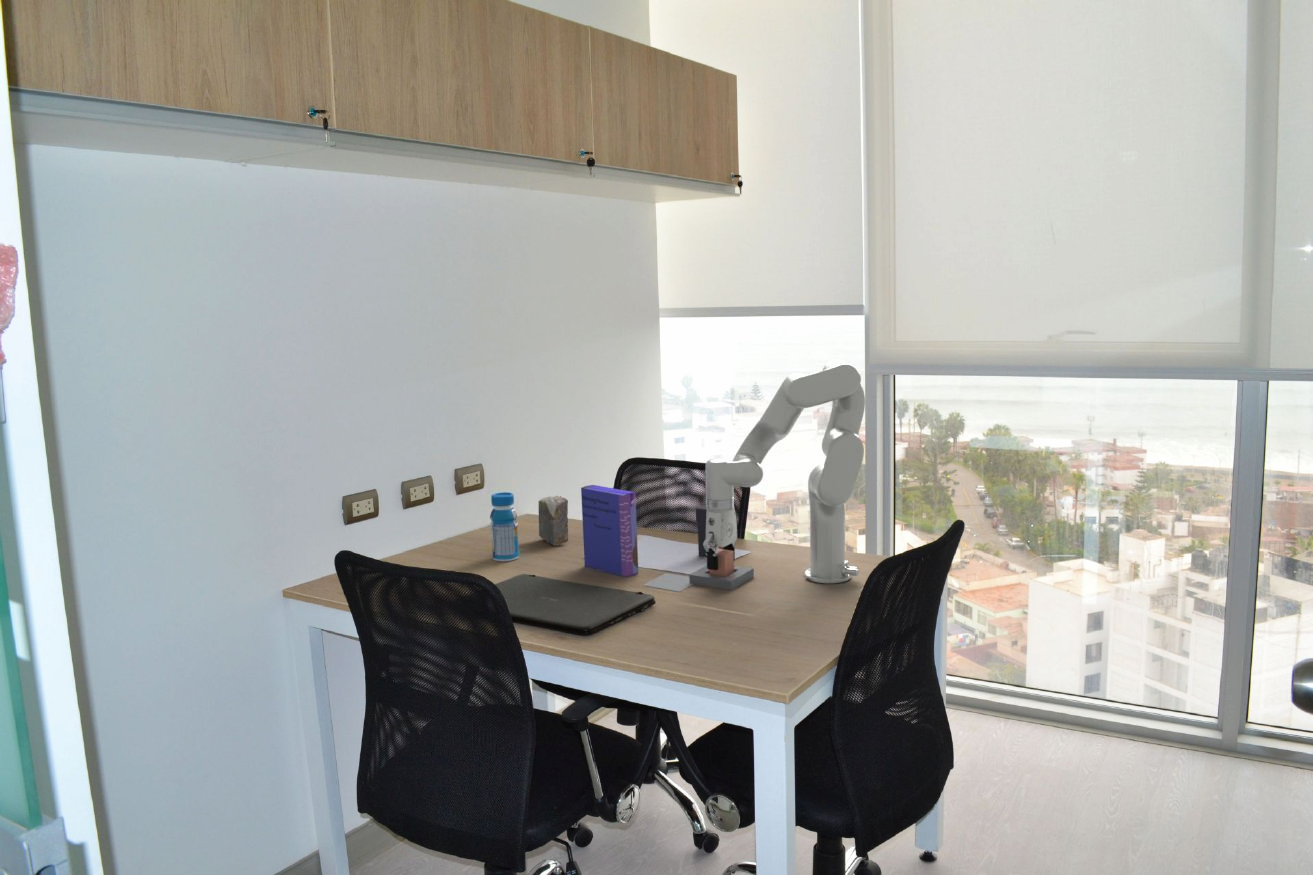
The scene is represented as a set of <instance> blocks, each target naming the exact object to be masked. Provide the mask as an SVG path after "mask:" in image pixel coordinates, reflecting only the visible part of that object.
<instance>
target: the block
mask: <svg viewBox="0 0 1313 875" xmlns="http://www.w3.org/2000/svg"><path fill="white" fill-rule="evenodd" d="M716 556H718V570H710V569H709V574H714V575H720V576H726V577H727V576H729V575H730V574H732V573H734V565H735V561H734V551H731V550H724V549H718V552H717V555H716Z"/></svg>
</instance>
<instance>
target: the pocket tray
mask: <svg viewBox="0 0 1313 875" xmlns="http://www.w3.org/2000/svg"><path fill="white" fill-rule="evenodd" d="M754 575H755V572H754V568H753V567H747V566H741V565H735V564H734V573H732V574H730V575H729V576H727V577H726V576H720V575H714V574H709V569H707V564H706V565H705V566H702V567H701V568H699V569H697V570H695V571H694V572H691V573H689V574H688V577H689V581H690V583H693V584H694V585H696V586H697V585H698V586H703V587H708V588H715V589H719V590H721V589H722V590H725V591H733V590H734V589H736V588H738V587H740V586H741V585H743V584H744V583H746V582H748V581H750V580H751V579H754V578H755V576H754Z"/></svg>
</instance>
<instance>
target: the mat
mask: <svg viewBox="0 0 1313 875" xmlns="http://www.w3.org/2000/svg"><path fill="white" fill-rule="evenodd" d="M694 585H695V584H693V583H690V581H689V576H686V575H679V574H673V573H669V572H668V573H667V572H666V573H664V574H661V575H659V576H658V577H655V578H653V579H651V580H649V581H648V582H646V583H644V584H642V586H643V587H648V588H655V589H660V590H666V591H672V592H678V593H681V592H683V591H684V590H687V589H688V588H690V587H692V586H694Z"/></svg>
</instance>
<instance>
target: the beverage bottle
mask: <svg viewBox="0 0 1313 875" xmlns="http://www.w3.org/2000/svg"><path fill="white" fill-rule="evenodd" d="M490 498H491V502H490V503H491V506H492V507H493V508H492V510H491V511H490V516H489V519H490V521H491V522H490V524H489V528H490V531H491V532H490V534H491V548H492V549H491V550H492V555H491V556H492V559H493V560H494V561H496V562H511V561H515V560H518V559H519V557H520V549H519V548H520V546H519V531H518V529H519V522H518V520H517V518H518V513H517V511H516V509H515V508H514V504H515V497H514V493H512V492H496V493H492V494H491V497H490Z"/></svg>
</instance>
